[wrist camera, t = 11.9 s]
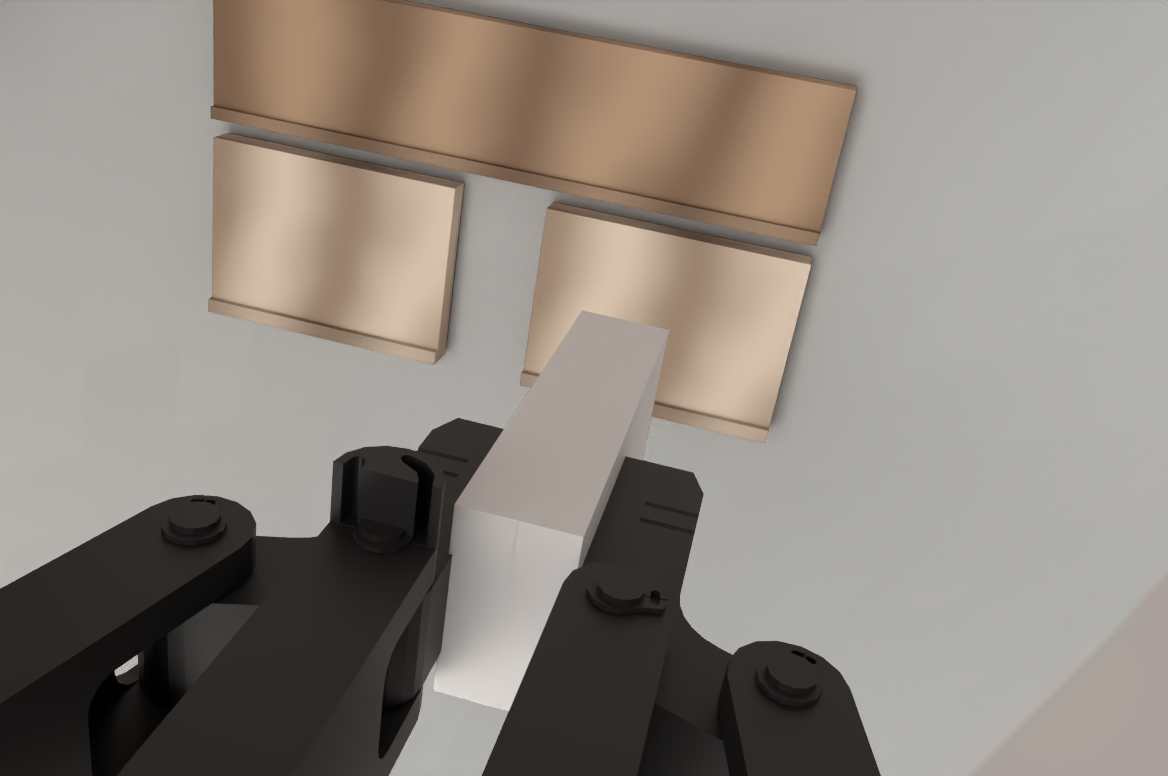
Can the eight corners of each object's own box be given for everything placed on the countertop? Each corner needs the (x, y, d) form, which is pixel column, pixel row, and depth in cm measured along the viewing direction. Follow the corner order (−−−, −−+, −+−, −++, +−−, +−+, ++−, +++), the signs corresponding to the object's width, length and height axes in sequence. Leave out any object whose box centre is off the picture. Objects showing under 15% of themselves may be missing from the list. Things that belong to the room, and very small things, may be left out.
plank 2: (528, 372, 48) (519, 385, 46) (553, 202, 44) (545, 210, 43) (767, 428, 46) (765, 443, 45) (811, 256, 43) (811, 266, 41)
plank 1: (225, 301, 49) (208, 311, 48) (228, 133, 46) (210, 138, 45) (445, 353, 48) (433, 364, 47) (464, 183, 45) (452, 190, 43)
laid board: (229, 112, 46) (210, 118, 44) (230, -33, 43) (210, -32, 42) (817, 235, 42) (816, 245, 41) (855, 86, 40) (856, 91, 38)
